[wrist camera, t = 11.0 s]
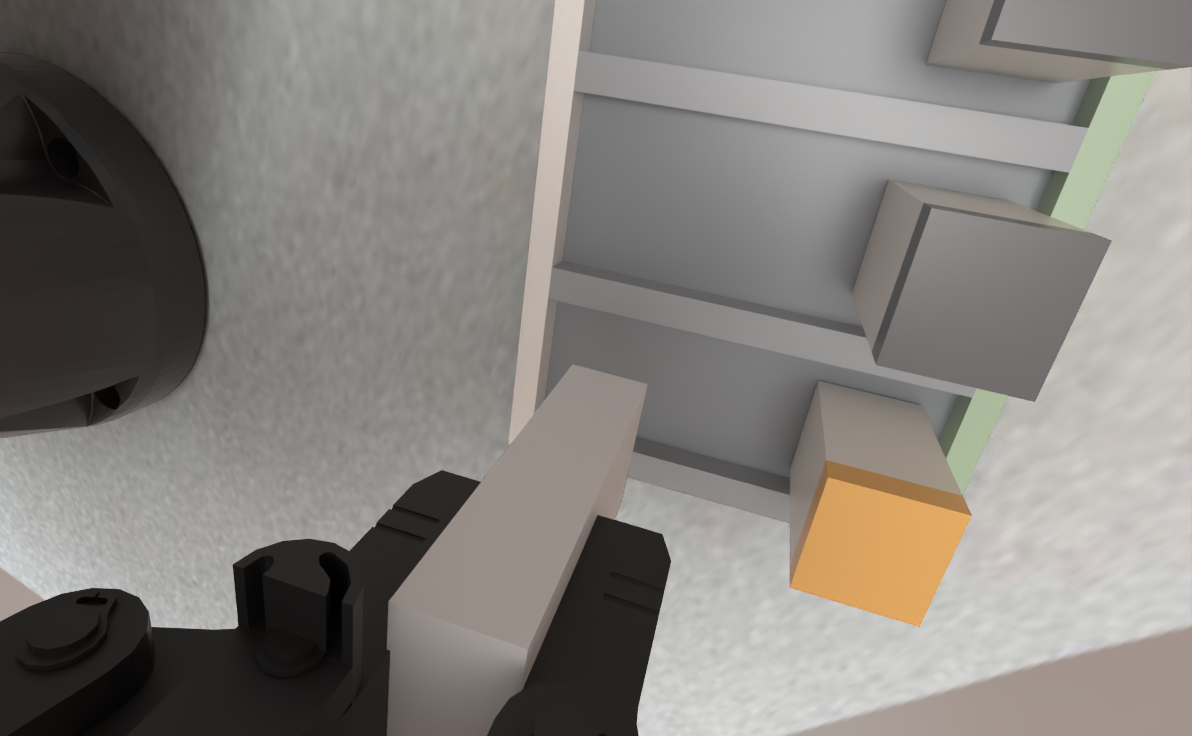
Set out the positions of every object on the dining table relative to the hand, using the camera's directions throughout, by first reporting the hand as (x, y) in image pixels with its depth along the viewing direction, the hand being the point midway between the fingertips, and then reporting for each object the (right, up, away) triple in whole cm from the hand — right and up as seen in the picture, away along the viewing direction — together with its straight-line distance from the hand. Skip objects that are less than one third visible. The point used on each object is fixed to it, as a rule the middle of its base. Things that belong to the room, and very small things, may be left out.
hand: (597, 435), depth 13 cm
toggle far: (+8, -1, +7) cm, 11 cm away
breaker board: (+6, +6, +7) cm, 10 cm away
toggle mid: (+9, +5, +5) cm, 11 cm away
